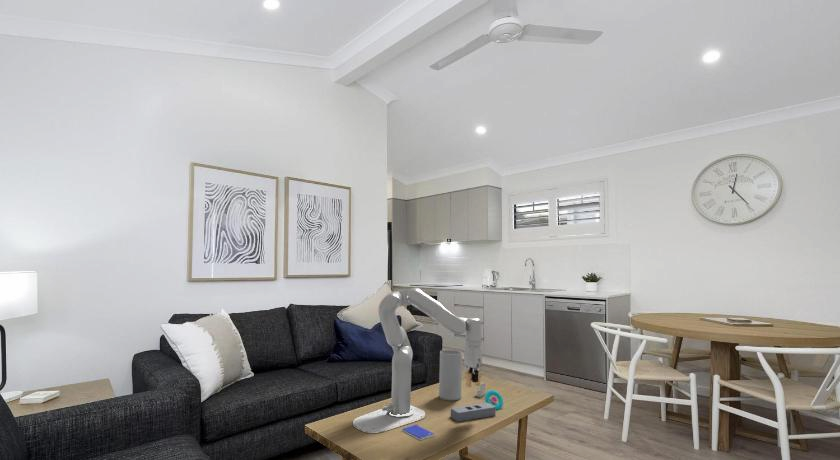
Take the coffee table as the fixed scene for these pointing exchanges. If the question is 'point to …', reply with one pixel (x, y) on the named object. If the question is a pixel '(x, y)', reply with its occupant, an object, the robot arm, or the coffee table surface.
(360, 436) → the coffee table surface
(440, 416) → the coffee table surface
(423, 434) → the hard drive
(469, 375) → the clip
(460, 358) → the cylinder vase
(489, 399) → the ornament
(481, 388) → the architectural model
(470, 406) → the grey slotted block
